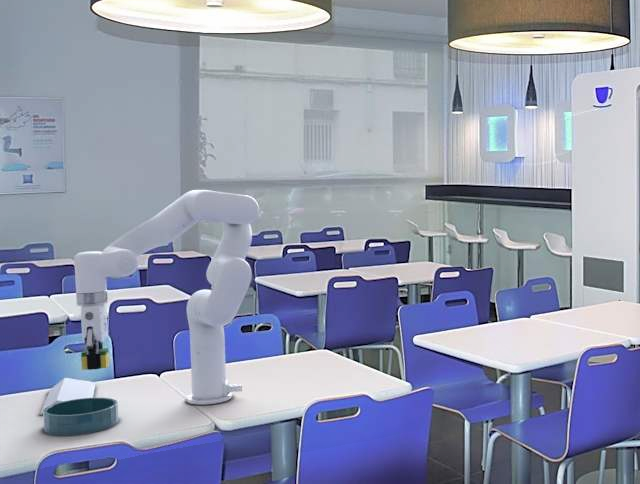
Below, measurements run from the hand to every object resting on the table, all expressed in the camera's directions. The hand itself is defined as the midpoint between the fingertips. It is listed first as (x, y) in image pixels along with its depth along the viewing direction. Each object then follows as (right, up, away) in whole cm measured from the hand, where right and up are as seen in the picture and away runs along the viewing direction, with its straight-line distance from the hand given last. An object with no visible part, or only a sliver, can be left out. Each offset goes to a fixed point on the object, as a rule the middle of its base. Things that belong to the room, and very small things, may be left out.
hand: (96, 366), depth 232 cm
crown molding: (-17, -14, +23) cm, 32 cm away
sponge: (0, 0, 0) cm, 0 cm away
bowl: (-2, -15, -3) cm, 15 cm away
